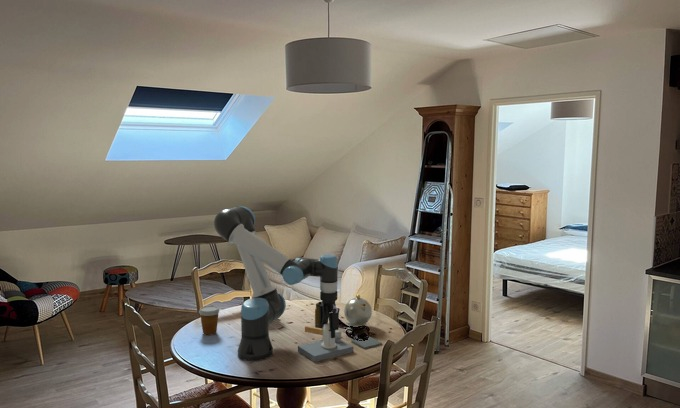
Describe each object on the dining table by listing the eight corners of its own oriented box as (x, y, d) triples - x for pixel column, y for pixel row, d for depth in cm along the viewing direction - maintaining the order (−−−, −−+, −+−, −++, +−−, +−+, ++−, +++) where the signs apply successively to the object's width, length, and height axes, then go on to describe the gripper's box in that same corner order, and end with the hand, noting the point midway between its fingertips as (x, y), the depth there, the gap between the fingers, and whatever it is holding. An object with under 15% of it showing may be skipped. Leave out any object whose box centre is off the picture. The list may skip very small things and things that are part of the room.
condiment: (322, 323, 278) (322, 300, 277) (333, 328, 272) (333, 304, 270) (310, 327, 274) (310, 303, 272) (321, 331, 267) (321, 307, 266)
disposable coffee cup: (201, 337, 258) (200, 312, 257) (197, 331, 267) (197, 307, 266) (221, 334, 262) (221, 310, 261) (217, 328, 271) (217, 304, 270)
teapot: (377, 329, 271) (377, 296, 269) (352, 333, 265) (352, 300, 263) (360, 318, 287) (360, 287, 285) (336, 322, 281) (336, 290, 279)
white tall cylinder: (326, 355, 237) (326, 328, 236) (318, 350, 243) (318, 324, 241) (339, 352, 241) (339, 325, 240) (330, 347, 247) (331, 321, 245)
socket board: (314, 361, 231) (314, 353, 231) (297, 351, 243) (297, 342, 242) (353, 351, 242) (353, 343, 242) (335, 342, 254) (335, 333, 253)
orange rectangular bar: (303, 332, 255) (303, 326, 254) (307, 330, 257) (307, 324, 257) (339, 339, 246) (339, 333, 246) (342, 337, 249) (342, 331, 248)
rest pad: (364, 349, 245) (364, 347, 245) (351, 342, 254) (351, 340, 254) (382, 344, 251) (382, 342, 251) (368, 337, 259) (368, 336, 259)
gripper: (347, 294, 234) (347, 347, 236) (325, 285, 248) (325, 335, 251) (332, 296, 229) (332, 350, 232) (311, 287, 244) (311, 338, 247)
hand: (328, 342), depth 242 cm, fingers closed on white tall cylinder, 4 cm apart
